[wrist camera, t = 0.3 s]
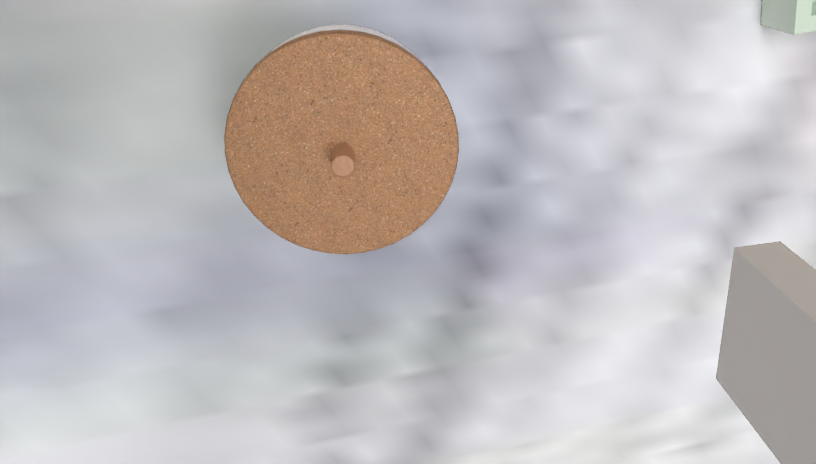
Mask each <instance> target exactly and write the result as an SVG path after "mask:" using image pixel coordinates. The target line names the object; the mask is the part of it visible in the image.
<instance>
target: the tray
mask: <svg viewBox="0 0 816 464" xmlns="http://www.w3.org/2000/svg"><path fill="white" fill-rule="evenodd" d="M761 25H763V26H766V27H770V28H773V29H776V30H779V31H783V32H786V33H789V34H793V35H797V34H801V33H806V32H811V31H816V0H762V13H761Z"/></svg>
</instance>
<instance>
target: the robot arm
mask: <svg viewBox="0 0 816 464" xmlns="http://www.w3.org/2000/svg"><path fill="white" fill-rule="evenodd" d="M716 379H717V380H718V382H719V383H720V384H721V386H722V387H723V388H724V390H725V391H726V392H727V394H728V395H729V396H730V397H731V399H732V400H733V401H734V403H735V404H736V405H737V407H738V408H739V409H740V411H741V412H742V413H743V415H744V416H745V417H746V419H747V420H748V421H749V422H750V424H751V425H752V426H753V428H754V429H755V430H756V432H757V433H758V434H759V436H760V437H761V438H762V440H763V441H764V442H765V444H766V445H767V446H768V447H769V449H770V450H771V451H772V453H773V454H774V455H775V457H776V458H777V459H778V461H779V462H780V463H781V464H816V270H815V269H814V268H813V267H811V266H810V265H809V264H808V263H806V262H805V261H804V260H803V259H801V258H800V257H799V256H798V255H796V254H795V253H794V252H793V251H791V250H790V249H789V248H788V247H786V246H785V245H784V244H783V243H781V242H773V243H765V244H758V245H751V246H743V247H736V248H734V254H733V261H732V268H731V275H730V282H729V289H728V296H727V303H726V311H725V318H724V325H723V332H722V339H721V346H720V353H719V360H718V368H717V375H716Z"/></svg>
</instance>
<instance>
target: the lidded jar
mask: <svg viewBox="0 0 816 464" xmlns="http://www.w3.org/2000/svg"><path fill="white" fill-rule="evenodd" d="M458 152H459V143H458V130H457V125H456V120H455V115H454V113H453V110H452V107H451V105H450V102H449V99H448V97H447V95H446V94H445V92H444V90H443V88H442V87H441V85H440V83H439V81H438V80H437V79H436V78H435V76H434V75H433V74H432V73H431V71H430V70H429V69H428V68H427V66H425V65H424V63H423V62H422V61H421V60H420V59H419V58H418V57H417V56H416V55H415V54H414V53H413V52H412V51H411V50H409V49H408V48H407V47H406V46H404V45H403V44H401V43H399V42H398V41H396V40H395V39H393V38H392V37H390V36H388V35H385V34H383V33H381V32H378V31H376V30H373V29H369V28H365V27H361V26H355V25H344V24H339V25H325V26H321V27H317V28H313V29H308V30H306V31H304V32H301V33H299V34H297V35H294V36H292V37H290V38H288V39H287V40H285V41H284V42H282V43H281V44H279V45H278V46H276V47H275V48H274V49H273V50H272V51H270V52H269V53H268V54H267V55H266V56H265V57H264V58H263V59H262V60H261V61H260V62H259V63H258V64H256V65H255V66H254V68H253V69H252V70H251V71H250V73H249V74H248V75H247V77H246V78H245V79H244V80H243V82H242V84H241V85H240V87H239V89H238V91H237V93H236V95H235V97H234V99H233V101H232V104H231V107H230V110H229V113H228V116H227V121H226V128H225V156H226V161H227V166H228V170H229V173H230V176H231V178H232V181H233V184H234V186H235V188H236V190H237V192H238V194H239V195H240V197H241V199H242V201H243V202H244V203H245V205H246V206H247V207H248V208H249V210H250V211H251V212H252V213H253V215H254V216H255V217H256V218H257V219H258V220H259V221H261V222H262V223H263V224H264V225H265V226H266V227H267V228H269V229H270V230H271V231H273V232H274V233H276V234H277V235H279V236H280V237H282V238H284V239H286V240H288V241H290V242H292V243H294V244H296V245H299V246H302V247H305V248H308V249H311V250H315V251H320V252H325V253H335V254H352V253H363V252H367V251H372V250H376V249H380V248H383V247H385V246H388V245H390V244H393V243H395V242H397V241H399V240H401V239H403V238H404V237H406V236H408V235H410V234H411V233H412V232H414V231H415V230H416V229H418V228H419V227H420V226H421V225H423V224H424V223H425V222H426V221H427V220H428V219H429V218H430V217H431V215H432V214H433V213H434V212H435V211H436V210H437V208H438V207H439V205H440V204H441V202H442V201H443V200H444V198H445V196H446V194H447V192H448V190H449V188H450V186H451V184H452V180H453V177H454V174H455V171H456V167H457V160H458Z"/></svg>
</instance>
